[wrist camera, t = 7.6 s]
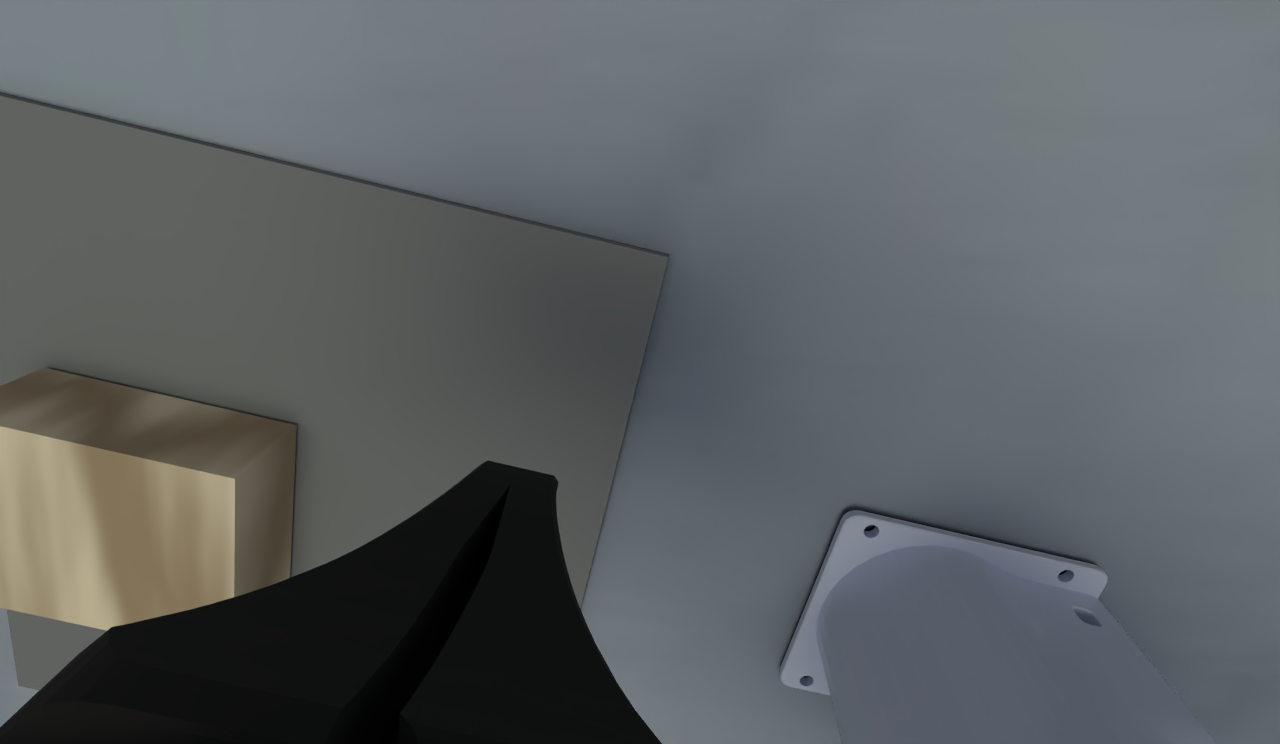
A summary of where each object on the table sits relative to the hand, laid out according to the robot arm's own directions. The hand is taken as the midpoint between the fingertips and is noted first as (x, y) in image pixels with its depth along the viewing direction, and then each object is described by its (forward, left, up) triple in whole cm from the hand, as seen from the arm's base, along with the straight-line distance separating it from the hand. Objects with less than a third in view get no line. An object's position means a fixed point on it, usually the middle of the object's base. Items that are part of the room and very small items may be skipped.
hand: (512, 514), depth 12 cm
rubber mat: (+9, +9, -10) cm, 16 cm away
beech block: (+9, +9, -8) cm, 15 cm away
